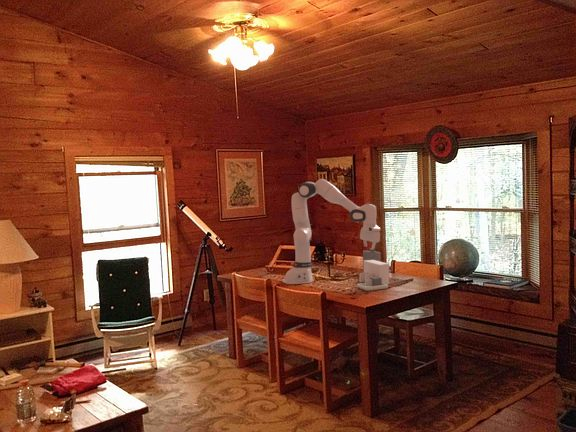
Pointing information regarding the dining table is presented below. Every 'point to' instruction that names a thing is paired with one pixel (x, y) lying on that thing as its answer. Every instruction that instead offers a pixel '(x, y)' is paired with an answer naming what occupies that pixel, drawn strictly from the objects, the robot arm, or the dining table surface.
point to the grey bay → (375, 271)
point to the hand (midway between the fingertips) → (369, 247)
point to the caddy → (373, 281)
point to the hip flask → (371, 256)
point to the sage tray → (372, 287)
